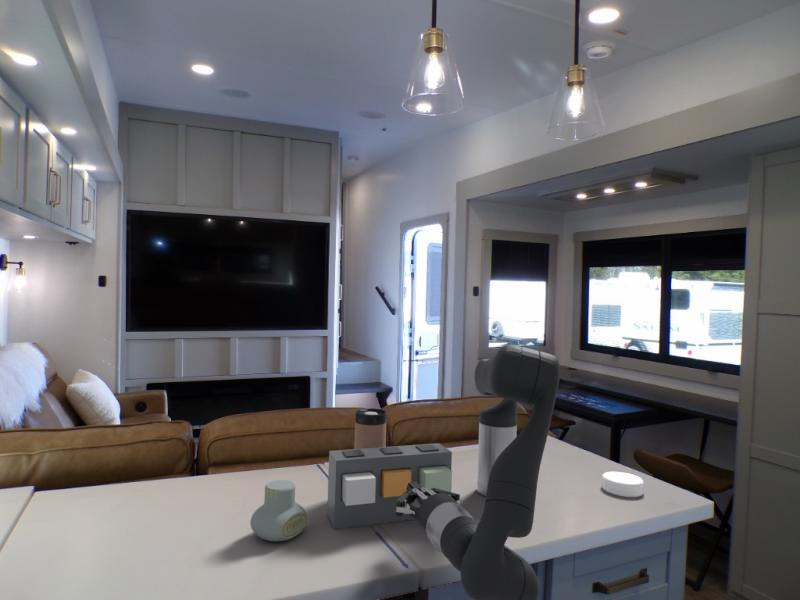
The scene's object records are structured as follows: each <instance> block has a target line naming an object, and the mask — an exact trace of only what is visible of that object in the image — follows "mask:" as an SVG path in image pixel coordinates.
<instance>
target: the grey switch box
mask: <svg viewBox="0 0 800 600" xmlns="http://www.w3.org/2000/svg"><path fill="white" fill-rule="evenodd" d="M328 452H329V453H328V478H327V480H328V481H327V483H328V485H327V510H326V511H327V512H326V513H327V514H326V515H327V518H328V519H329V522H330V524H331V526H332V528H333V529H334V530H337V529H339V530H340V529H349V528H355V527H365V526H373V525H380V524H390V523H396V522H406V521H413V520H414V521H416V520H415V519H413V518H411V517H410V514H407V513H406V514H403V515H402V516H400V517H398V516H396V501H397V500H398V498H399V497H400V496H394V497H383V496H382V495H381V494H380V489H381V470H389V469H400V468H408V469H409V470H411V482H416V483H417V484H418V472H419V467H424V466H435V465H445V466H446V467H447V468H448V469H450V470H451V471H452V462H453V461H452V460H453V459H452V457H453V456H452V455H453V454H452V453H453V452H452V451H451V450H450V449H448V448H447V447H446V446H444V445H442V444H441V443H423V444H411V445H410V444H409V445H397V446H396V445H395V446H386V447H379V448H364V449H354V448H352V449H339V450H336V449H335V450H329V451H328ZM365 471H370V472H371V473H372V474H373V475H374V477H375V478H376V488H375V503H368V504H358V505H349V506H346V505H345V503H344V501H343V500H342V498H341V474H342V473H353V472H365ZM411 504H412V503H411ZM410 506H411V505H410ZM348 527H349V528H348Z"/></svg>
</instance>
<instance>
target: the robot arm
mask: <svg viewBox="0 0 800 600" xmlns="http://www.w3.org/2000/svg"><path fill="white" fill-rule="evenodd" d="M560 367H561V366H560V362H559V360H558V358H557V356H556V355H554V354H551V353H548V352H545V351H540V350H536V349H532V348H528V347H523V346H520V345H515V344H506V345H502V346H501V347H500V348H499V349H498V350H497V352H496V353H495V355H494V356H492V357H489V358H482V359H480V360H479V361H478V362H477V365H476V367H475V369H474V385H475V387H476V390H477V392H478V393H479V394H480V395H482V396H483V395H484V396H489V397H490V396H491V397H496V398H500V399H502V400H501V401H500V402H498V403H497V404H495V405H492V406H490V407H486V408H483V409H481V410H480V412H479V417H478V419H479V420H478V422H479V423H478V449H477V451H478V452H477V453H478V457H477V482H476V484H477V488H476V489H477V493H478V494H480V495H482V496H484V497H485V500H484V507H483V512H482V515H481V517H480V520H479V522H477V521H476V520H475V518H474V517H473V516H472V514H470V512H469V511H467V510H466V508H464V507H463V506H462V505H461V503H460V502H461V501H460V500H461V495H460V494H459V493H455V492H452V491H451V492H448V491H444V490H440V489H437V488H431V490H428V489H427V488H423V487H422V486H421V485H419V484H417V483H416V482H409V483H408V485H407V491H405V492H404V493H403V494H402V495H401V496H400V497H399V498H398V500H397V501H396V516H398V517H400V516H402V515H403V514H406V513H407V514H410V517H411V518H413V519H415V520H414V521H416V523H417V525H418V526H419V529H420V530H421V532H422V533H423V534H424V535H425V537H426V538H427V539H428V541H430V542H431V543H432V545H433V547H434V548H435V549H436V550H438V552H440V553H441V554H442V555H443V556H444V557H445V558H446V559H447V560H448V562H449V563H450V564H451V565H452V566H453V567H454V568H455V569H456V570H457V571H458V572H460V580H461V584H462V588H463V591H464V592H465V593H466V595H467V596H468V598H470V599H471V600H538V598H539V595H540V584H539V580H538V577H537V573H536V572H535V570H534V568H533V566H532V565H531V564H530V563H529V562H528V561H527V560H526V559H525V558H524V557H522V556H521V555H520V554H519V553H517V552H516V551H514V550H513V549H511V548H509V547H508V546H507V545H505V544H506V542H507V540H508V539H509V538H514V539H515V538H516V539H518V538H519V539H520V538H525V537H528V536H529V535H530V533H531V532H532V529H533V525H534V517H535V511H536V509H535V508H536V500H537V499H536V498H537V488H538V481H539V473H540V469H541V463H542V459H543V455H544V450H545V448H546V444H547V439H548V435H549V432H550V427H551V423H552V417H553V413H554V410H555V409H554V408H555V404H556V400H557V396H558V390H559V385H560V377H561V368H560ZM518 403H519V404H520V403H521V404H525V405H528V406H531V407H532V411H531V414H530V418H529V419H528V421H527V423H526V425H525V426H524V427H523V429H522V430H521V431H520V432H519V433H518V435H517V431H518V429H517V427H518V424H517V423H518ZM411 503H412V504H411ZM410 505H411V506H410Z"/></svg>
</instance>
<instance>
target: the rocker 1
mask: <svg viewBox="0 0 800 600" xmlns="http://www.w3.org/2000/svg"><path fill="white" fill-rule="evenodd" d="M375 488H376V478H375V477H374V475H373V474H372V473H371V472H370V471H365V472H353V473H342V474H341V498H342V500H343V501H344V503H345V505H346V506H349V505H358V504H368V503H375Z"/></svg>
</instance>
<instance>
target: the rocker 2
mask: <svg viewBox="0 0 800 600" xmlns="http://www.w3.org/2000/svg"><path fill="white" fill-rule="evenodd" d="M452 478H453V471H452V469H451V470H450V469H448V468H447V467H446V466H445V465H435V466H424V467H419V472H418V484H419V485H421V486H422V487H423V488H427V489H428V490H431V488H437V489H440V490H444V491H448V492H452V490H453V489H452V486H453V485H452V484H453V483H452V480H453V479H452Z"/></svg>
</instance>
